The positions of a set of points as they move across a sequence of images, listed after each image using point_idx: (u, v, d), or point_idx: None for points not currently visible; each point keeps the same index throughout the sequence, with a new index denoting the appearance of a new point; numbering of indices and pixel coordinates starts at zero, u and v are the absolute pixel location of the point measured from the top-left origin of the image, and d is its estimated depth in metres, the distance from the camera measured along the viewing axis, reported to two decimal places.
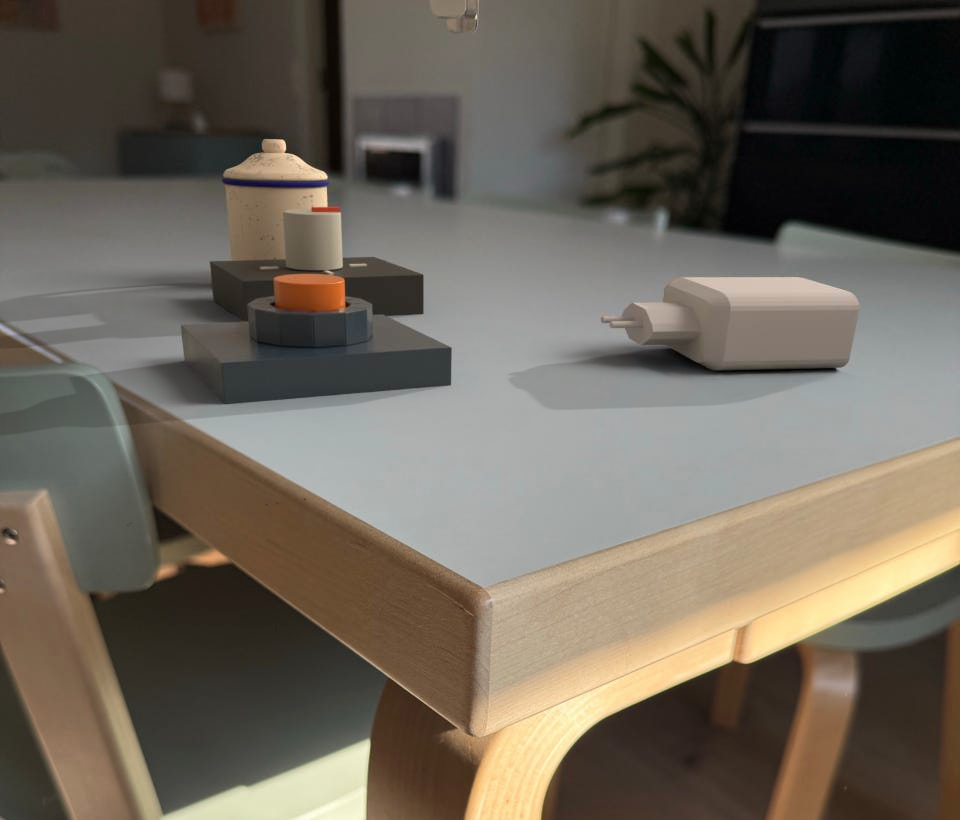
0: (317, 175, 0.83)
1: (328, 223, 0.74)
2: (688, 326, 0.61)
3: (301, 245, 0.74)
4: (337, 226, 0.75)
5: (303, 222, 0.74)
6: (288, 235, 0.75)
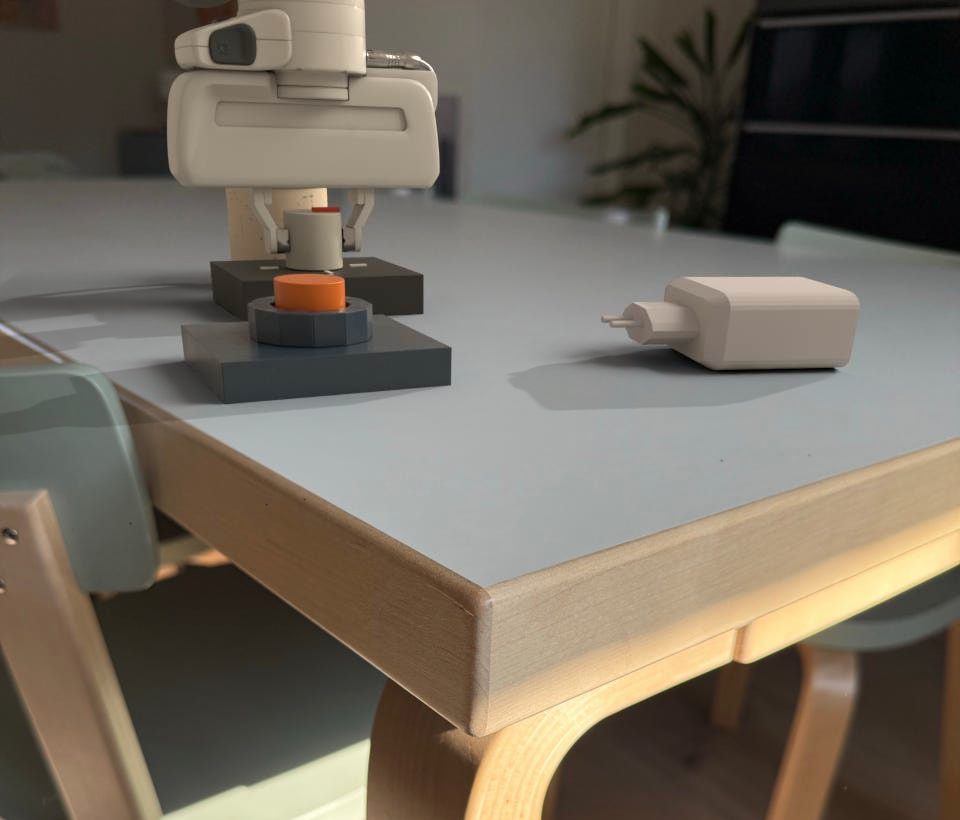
0: None
1: (328, 223, 0.74)
2: (688, 325, 0.61)
3: (301, 245, 0.74)
4: (337, 226, 0.75)
5: (303, 222, 0.74)
6: None
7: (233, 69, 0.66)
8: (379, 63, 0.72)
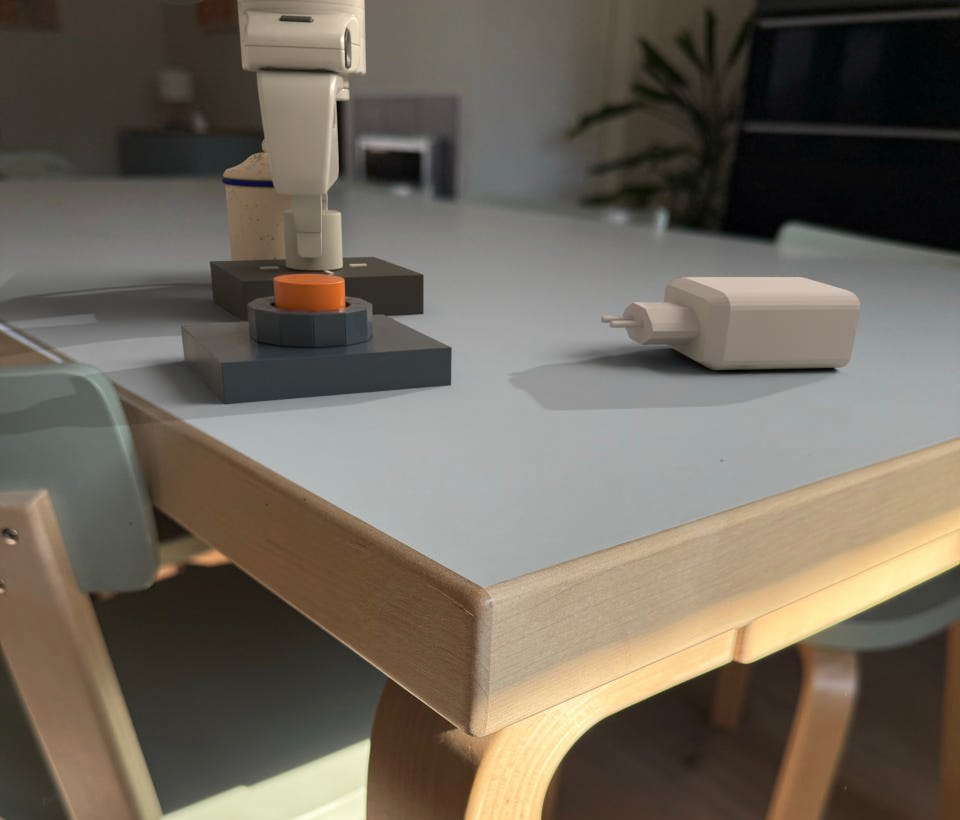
0: None
1: None
2: (688, 326, 0.61)
3: (333, 245, 0.75)
4: None
5: (334, 222, 0.75)
6: None
7: (343, 72, 0.66)
8: None
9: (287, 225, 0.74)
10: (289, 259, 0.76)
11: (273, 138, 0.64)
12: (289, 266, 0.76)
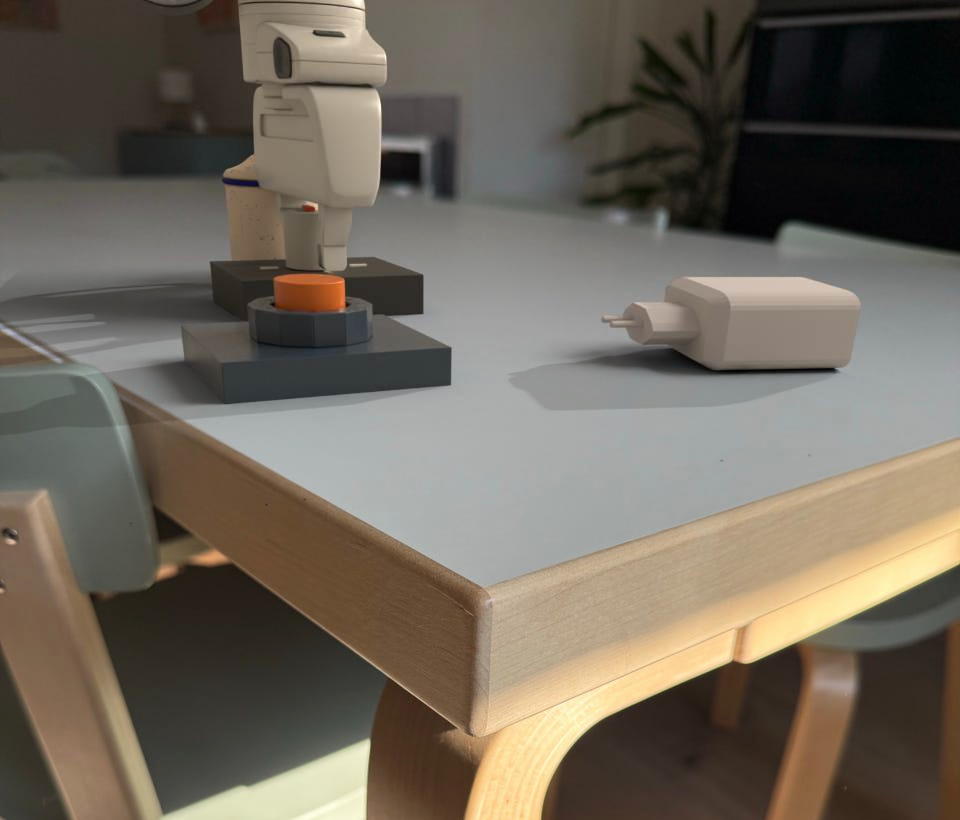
0: None
1: None
2: (688, 326, 0.61)
3: None
4: None
5: None
6: None
7: None
8: None
9: (294, 226, 0.74)
10: (295, 260, 0.75)
11: (330, 152, 0.65)
12: (295, 267, 0.75)
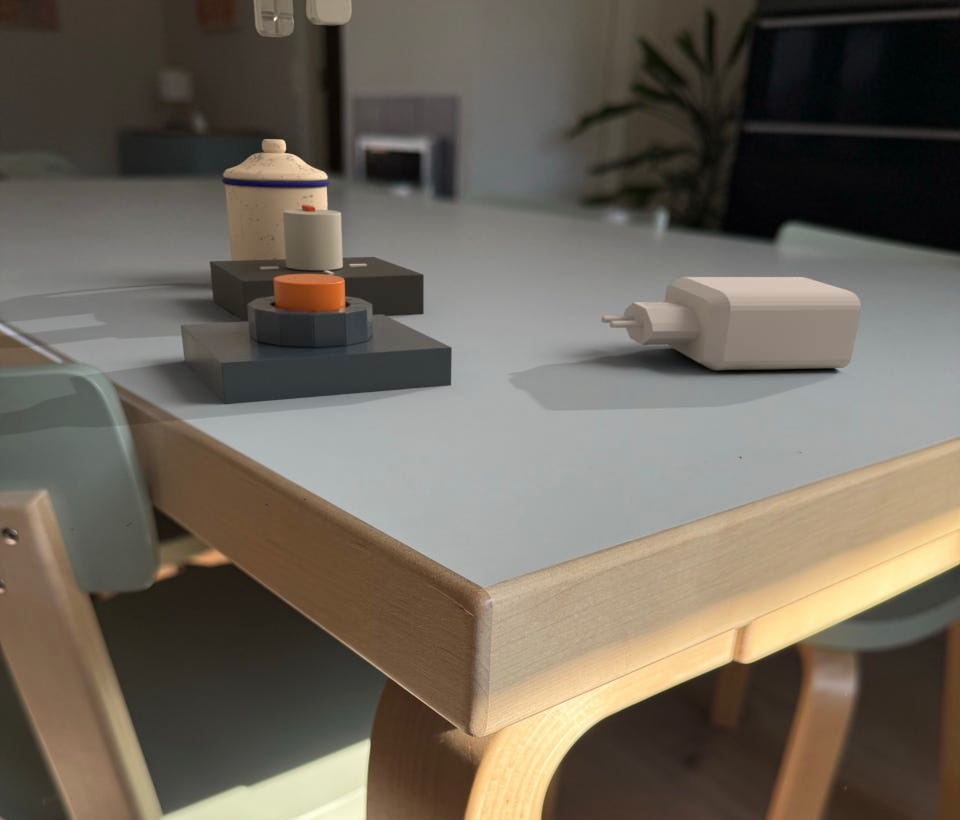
0: (317, 175, 0.83)
1: None
2: (688, 326, 0.61)
3: (339, 244, 0.76)
4: None
5: (339, 221, 0.75)
6: (326, 237, 0.75)
7: None
8: None
9: (294, 226, 0.74)
10: (295, 260, 0.75)
11: None
12: (295, 267, 0.75)
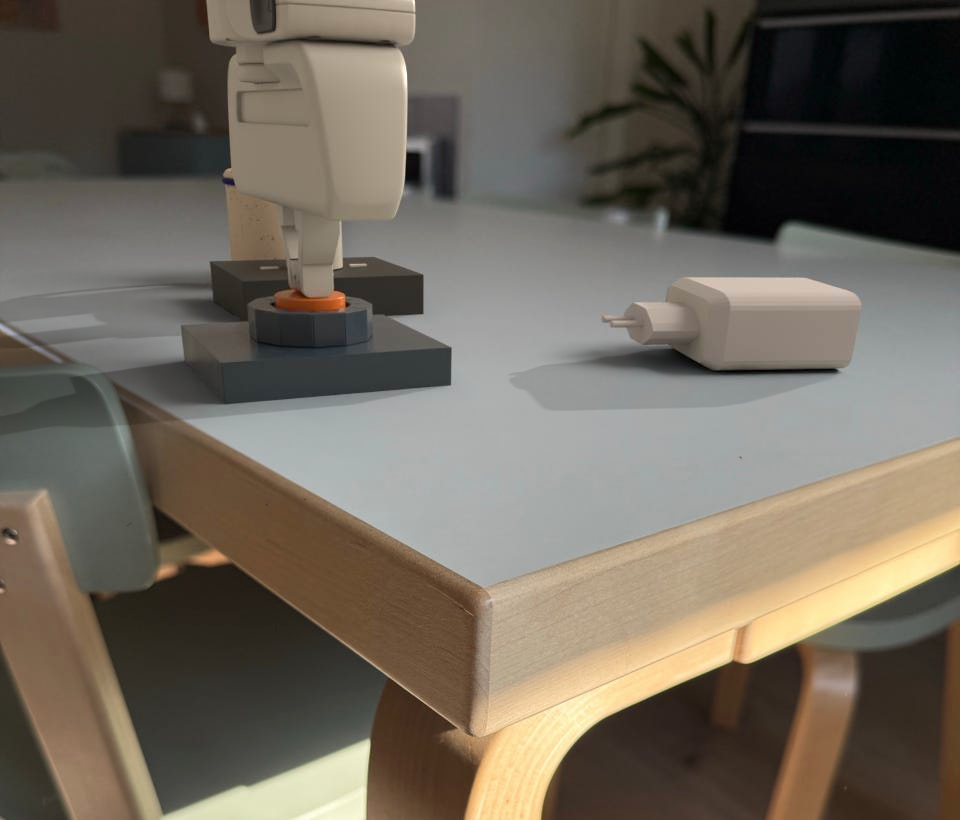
0: None
1: None
2: (688, 326, 0.61)
3: (339, 244, 0.76)
4: None
5: None
6: None
7: None
8: None
9: None
10: None
11: (333, 141, 0.44)
12: None
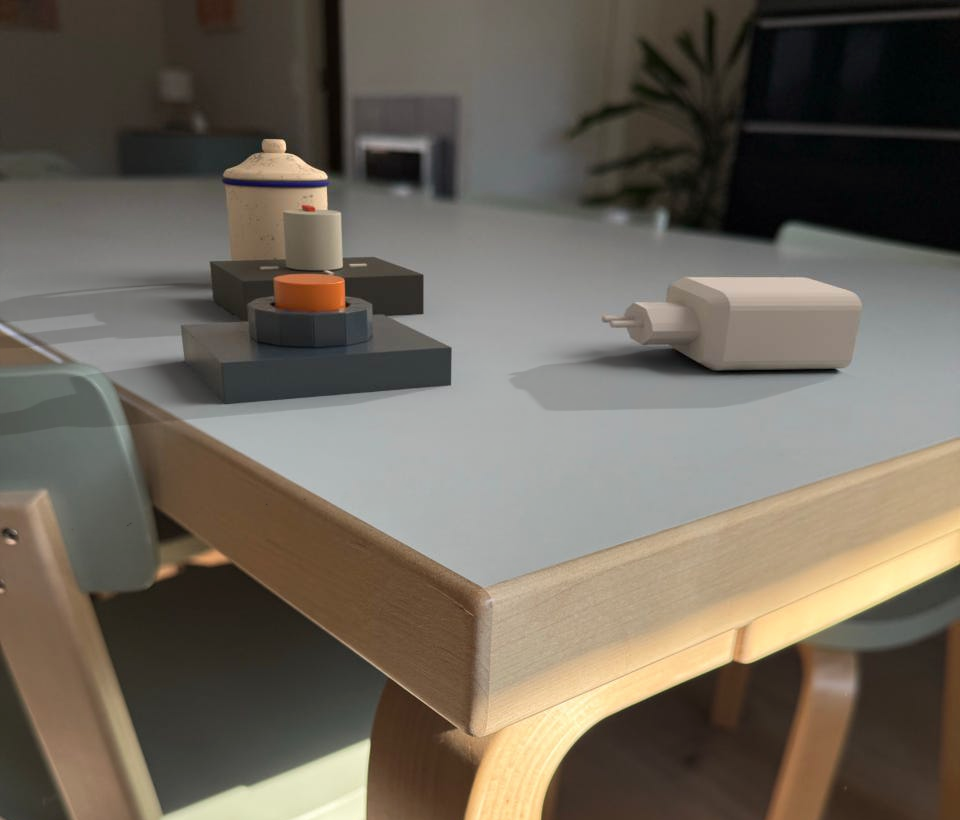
0: (317, 175, 0.83)
1: None
2: (688, 326, 0.61)
3: (339, 244, 0.76)
4: None
5: (339, 221, 0.75)
6: (326, 237, 0.75)
7: None
8: None
9: (294, 226, 0.74)
10: (295, 260, 0.75)
11: None
12: (295, 267, 0.75)
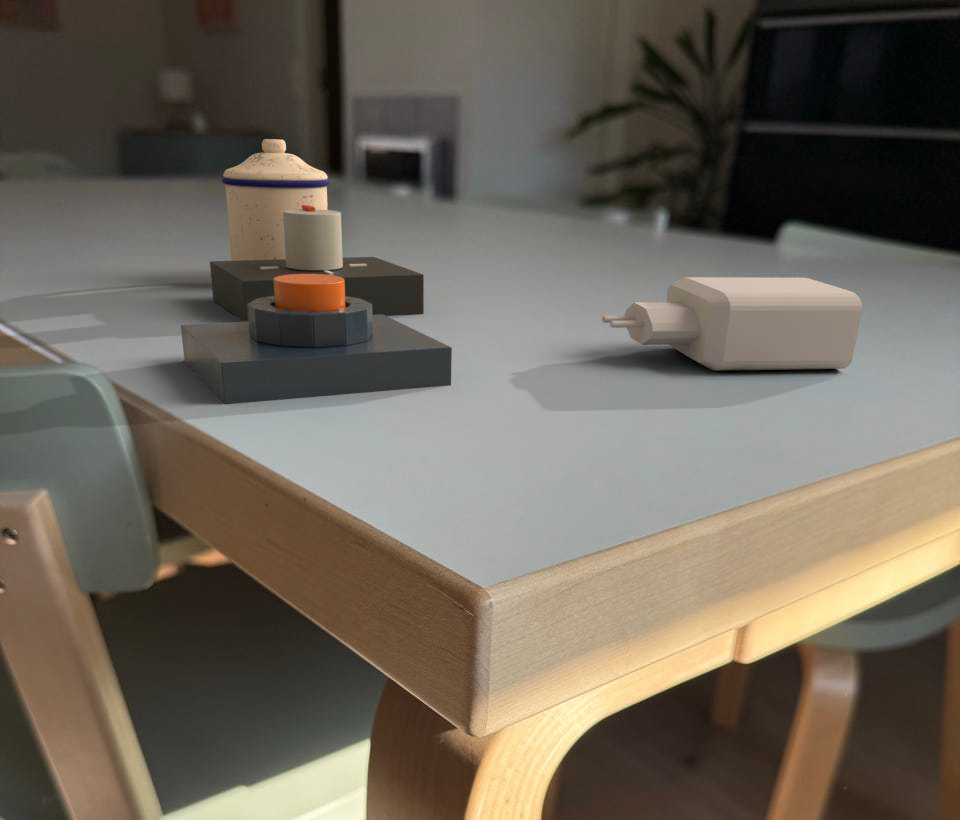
0: (317, 175, 0.83)
1: None
2: (688, 326, 0.61)
3: (339, 244, 0.76)
4: None
5: (339, 221, 0.75)
6: (326, 237, 0.75)
7: None
8: None
9: (294, 226, 0.74)
10: (295, 260, 0.75)
11: None
12: (295, 267, 0.75)
